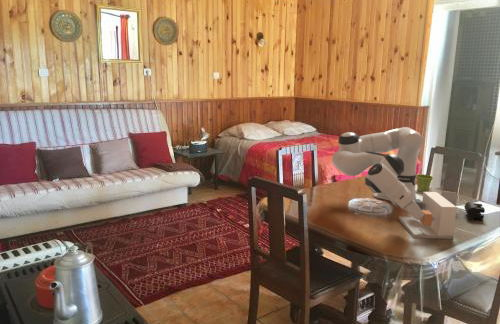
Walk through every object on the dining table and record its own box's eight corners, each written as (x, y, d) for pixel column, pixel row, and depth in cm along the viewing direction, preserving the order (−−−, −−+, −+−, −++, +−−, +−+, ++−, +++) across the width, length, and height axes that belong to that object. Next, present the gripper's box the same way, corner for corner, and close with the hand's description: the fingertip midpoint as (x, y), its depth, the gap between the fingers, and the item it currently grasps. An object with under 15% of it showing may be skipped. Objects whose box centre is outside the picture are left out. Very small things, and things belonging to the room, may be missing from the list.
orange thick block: (424, 225, 173) (425, 214, 172) (419, 221, 178) (421, 210, 177) (435, 225, 173) (436, 214, 172) (430, 221, 178) (431, 210, 177)
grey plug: (415, 212, 189) (416, 202, 188) (411, 209, 193) (412, 199, 192) (425, 213, 188) (426, 202, 187) (421, 209, 193) (422, 199, 192)
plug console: (413, 237, 174) (417, 206, 171) (398, 219, 195) (401, 191, 192) (452, 239, 173) (456, 207, 170) (433, 220, 194) (436, 192, 192)
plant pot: (430, 189, 248) (432, 175, 246) (432, 193, 239) (433, 178, 237) (414, 187, 251) (415, 173, 249) (415, 191, 242) (416, 177, 240)
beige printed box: (454, 212, 206) (456, 193, 204) (439, 210, 209) (441, 191, 207) (455, 211, 209) (457, 192, 207) (440, 208, 212) (443, 189, 210)
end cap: (463, 213, 205) (465, 200, 204) (479, 215, 203) (481, 202, 201) (466, 220, 196) (468, 206, 195) (483, 222, 194) (485, 208, 192)
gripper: (387, 192, 184) (407, 214, 186) (400, 207, 164) (423, 231, 166) (398, 183, 183) (418, 205, 185) (413, 197, 163) (435, 221, 165)
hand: (421, 217), depth 175 cm, fingers closed, pressing on orange thick block
